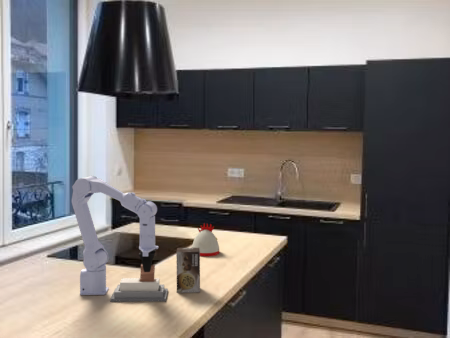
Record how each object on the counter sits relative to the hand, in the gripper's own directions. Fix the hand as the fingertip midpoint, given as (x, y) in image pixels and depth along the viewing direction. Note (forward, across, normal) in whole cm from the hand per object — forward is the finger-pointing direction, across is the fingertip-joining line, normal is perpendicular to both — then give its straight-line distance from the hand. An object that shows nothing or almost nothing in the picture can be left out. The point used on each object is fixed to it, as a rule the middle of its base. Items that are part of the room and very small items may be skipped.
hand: (147, 270), depth 198 cm
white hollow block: (+9, 0, +3) cm, 9 cm away
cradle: (+10, 0, +3) cm, 10 cm away
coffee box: (+10, +7, -15) cm, 19 cm away
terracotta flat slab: (+4, 0, 0) cm, 4 cm away
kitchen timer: (+10, +66, -22) cm, 70 cm away
